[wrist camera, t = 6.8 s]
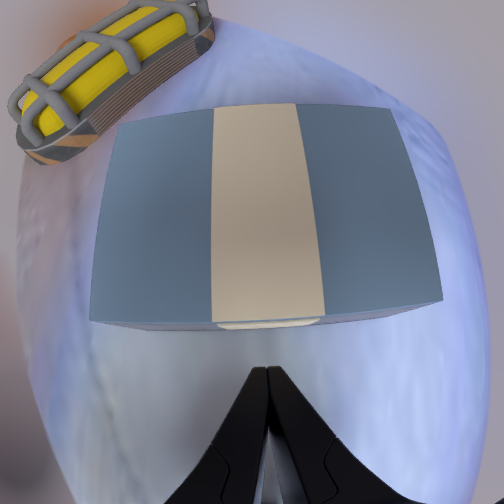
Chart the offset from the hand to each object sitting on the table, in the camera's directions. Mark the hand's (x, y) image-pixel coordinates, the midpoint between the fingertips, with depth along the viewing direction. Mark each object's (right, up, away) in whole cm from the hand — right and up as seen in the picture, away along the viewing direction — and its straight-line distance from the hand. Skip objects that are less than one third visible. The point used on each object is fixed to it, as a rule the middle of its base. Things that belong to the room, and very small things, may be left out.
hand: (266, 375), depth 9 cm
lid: (0, +6, +7) cm, 10 cm away
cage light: (-18, +26, +22) cm, 38 cm away
